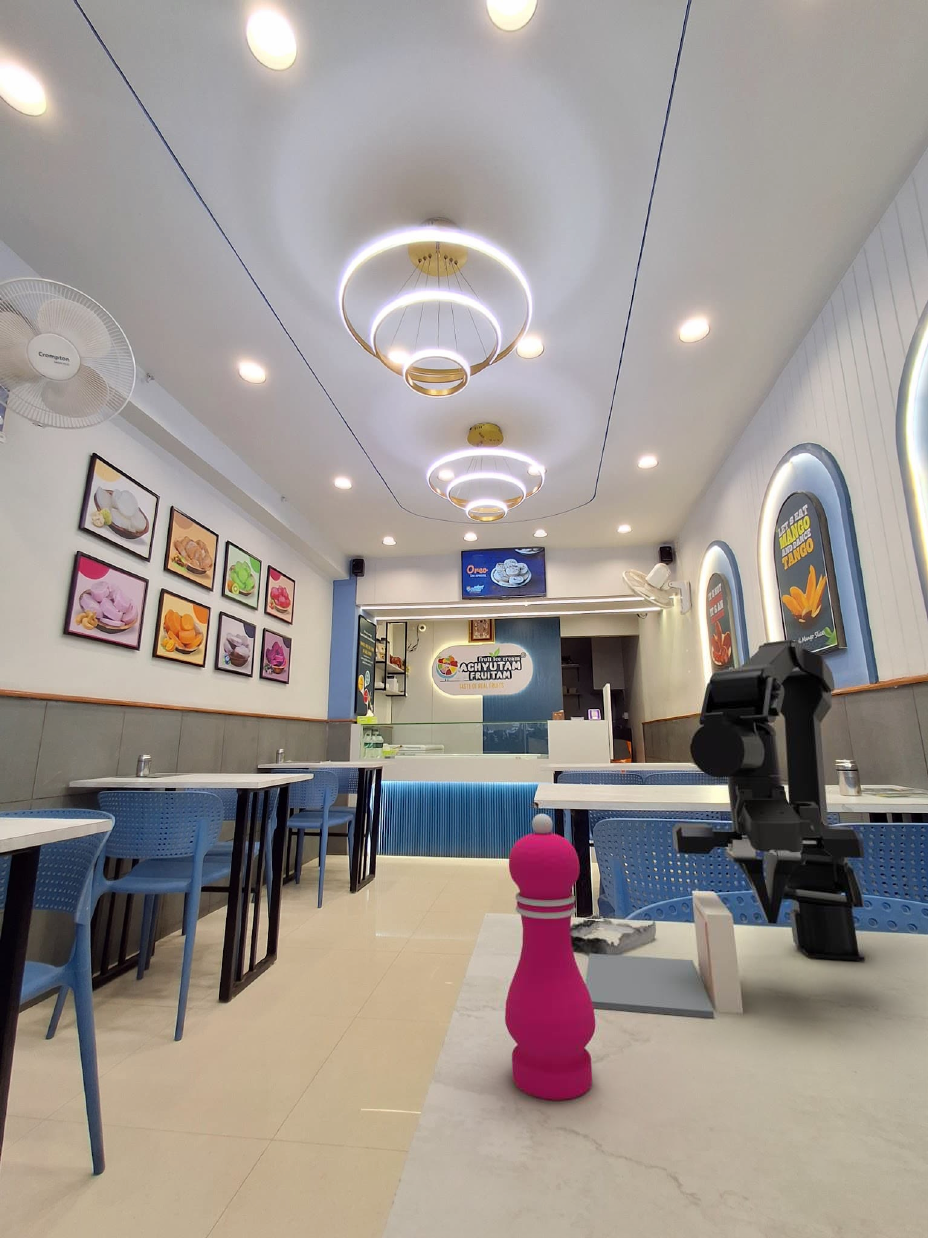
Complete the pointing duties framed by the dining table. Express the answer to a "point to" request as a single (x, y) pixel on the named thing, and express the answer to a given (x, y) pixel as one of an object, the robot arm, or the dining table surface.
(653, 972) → the slate mat
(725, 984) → the ceramic tile
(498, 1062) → the dining table surface
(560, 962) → the pepper mill
